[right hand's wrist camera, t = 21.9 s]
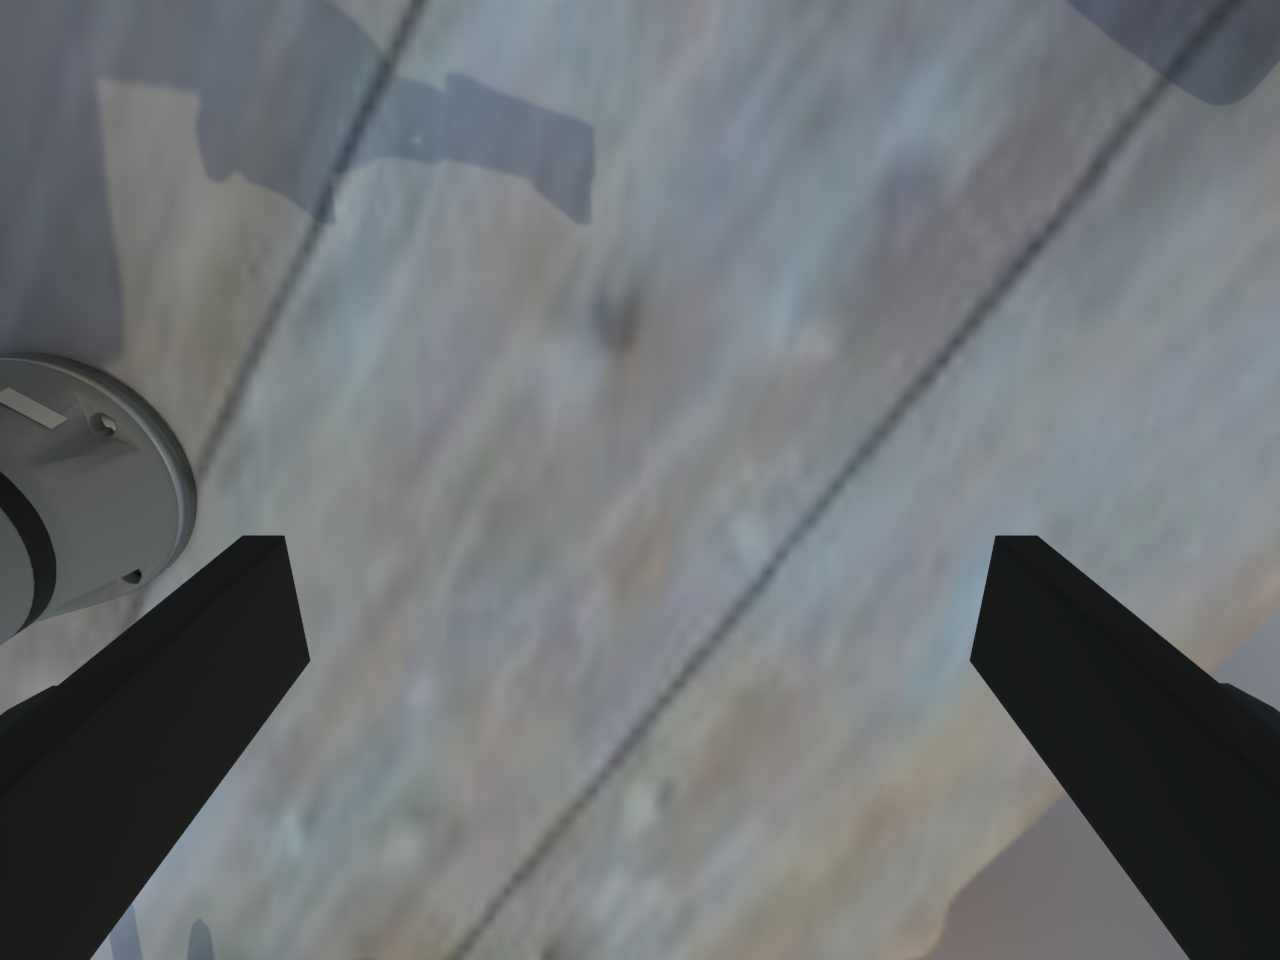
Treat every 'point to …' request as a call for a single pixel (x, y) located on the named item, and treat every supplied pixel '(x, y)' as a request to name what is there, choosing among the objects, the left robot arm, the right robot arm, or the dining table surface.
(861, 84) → the dining table surface
